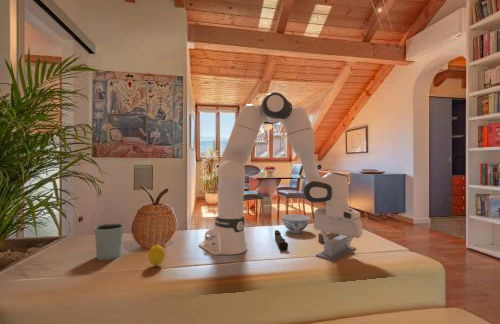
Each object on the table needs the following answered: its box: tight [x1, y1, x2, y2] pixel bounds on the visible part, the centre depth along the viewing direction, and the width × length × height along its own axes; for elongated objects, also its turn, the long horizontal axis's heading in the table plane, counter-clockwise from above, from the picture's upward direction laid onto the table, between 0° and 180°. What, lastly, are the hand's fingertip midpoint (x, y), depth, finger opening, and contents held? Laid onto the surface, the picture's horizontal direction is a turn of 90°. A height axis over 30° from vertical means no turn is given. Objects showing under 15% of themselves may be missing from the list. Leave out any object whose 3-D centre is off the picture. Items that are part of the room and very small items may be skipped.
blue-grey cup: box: [94, 223, 124, 261], centre depth 109 cm, size 10×10×12 cm
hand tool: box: [274, 229, 289, 252], centre depth 126 cm, size 19×4×5 cm, turn 2°
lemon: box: [148, 243, 166, 267], centre depth 100 cm, size 6×6×8 cm
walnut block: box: [317, 232, 337, 244], centre depth 132 cm, size 4×4×10 cm
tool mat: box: [315, 245, 357, 262], centre depth 115 cm, size 8×20×1 cm, turn 137°
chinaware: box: [281, 213, 311, 234], centre depth 147 cm, size 15×15×8 cm
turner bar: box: [323, 234, 349, 257], centre depth 115 cm, size 3×16×5 cm, turn 137°
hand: (336, 244), depth 115 cm, fingers open, 8 cm apart
